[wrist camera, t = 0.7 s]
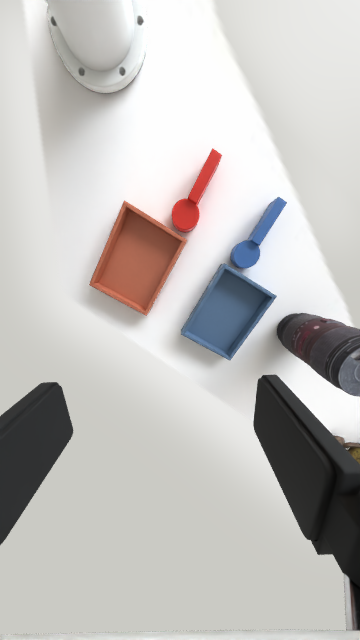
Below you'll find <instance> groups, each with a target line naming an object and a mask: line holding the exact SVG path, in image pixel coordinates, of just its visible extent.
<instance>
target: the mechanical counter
mask: <svg viewBox="0 0 360 640" xmlns="http://www.w3.org/2000/svg"><path fill="white" fill-rule="evenodd" d="M334 437H335V438H336V439H337V440H338V441H339V442H340V443H341V445H342V446H343V447H344V448H348V447H350V449H349V450H348V452H349V453H350V454H351V455H352V456H353V457H354V458H355V460H356V461H357V462H358V463H359V464H360V444H359V443H344V439H343V438H342V437H339V436H334Z"/></svg>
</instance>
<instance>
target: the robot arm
mask: <svg viewBox="0 0 360 640" xmlns="http://www.w3.org/2000/svg"><path fill="white" fill-rule="evenodd" d="M45 1H46V3H47V5H48V6H47V13H48V22H49V28H50V32H51V36H52V39H53V42H54V44H55V47H56V50H57V52H58V54H59V55H60V57H61V59H62V61H63V63H64V64H65V66H66V67H67V69H68V70H69V72H70V73H71V74H72V76H73V77H74V78H75V79H76V80H77V81H78V82H80V83H81V84H82V85H83V86H85V87H86V88H88V89H90V90H92V91H96V92H100V93H112V92H116V91H119V90H121V89H122V88H124V87H126V86H127V85H128V84H129V83H130V82H131V81H132V80H133V79H134V78H135V76H136V75H137V73H138V72H139V70H140V67H141V65H142V63H143V60H144V56H145V53H146V46H147V21H146V13H145V7H144V3H143V0H45ZM254 430H255V433H256V435H257V437H258V439H259V441H260V443H261V446H262V448H263V450H264V452H265V454H266V456H267V458H268V461H269V463H270V465H271V467H272V469H273V471H274V473H275V476H276V477H277V480H278V482H279V484H280V486H281V488H282V490H283V493H284V495H285V497H286V499H287V501H288V503H289V505H290V507H291V509H292V512H293V514H294V516H295V518H296V520H297V522H298V525H299V527H300V529H301V531H302V533H303V534H304V536H305V537H306V538H307V539H308V540H311V541H312V544H313V546H314V548H315V550H316V552H317V554H318V555H320V554H321V555H324V554H333V555H334V557H335V559H336V561H337V563H338V565H339V567H340V568H341V570H342V572H343V573H344V592H345V615H346V631H343V630H342V631H341V630H220V631H154V632H153V631H152V632H105V633H61V634H59V633H58V634H13V635H0V640H360V464H359V463H358V462H357V461H356V460H355V458H354V457H353V456H352V455H351V454H350V453H349V452H348V451H347V450H346V449H345V448H344V447H343V446H342V445H341V443H340V442H339V441H338V440H337V439H336V438H335V437H334V436H333V435H332V434H331V433H330V432H329V431H328V430H327V428H326V427H325V426H324V425H323V424H322V423H321V422H320V421H319V420H318V419H317V418H316V417H315V416H314V415H313V413H312V412H311V411H310V410H309V409H308V408H307V407H306V406H305V405H304V404H303V403H302V402H301V401H300V400H299V398H298V397H297V396H296V395H295V394H294V393H293V392H292V391H291V390H290V389H289V388H288V387H287V386H286V385H285V383H284V382H283V381H282V380H281V379H280V378H279V377H278V376H277V375H263V376H262V377H261V378H259V379H258V384H257V394H256V404H255V413H254ZM72 434H73V427H72V423H71V420H70V416H69V412H68V409H67V405H66V401H65V398H64V394H63V390H62V387H61V386H59V384H58V383H56V382H47V383H41V384H39V385H38V386H37V387H36V388H35V389H33V390H32V391H31V392H30V393H28V394H27V395H26V396H25V397H23V398H22V399H21V400H20V401H18V402H17V403H16V404H15V405H13V406H12V407H11V408H10V409H9V410H7V411H6V412H5V413H4V414H2V415H1V416H0V545H1V543H3V541H4V540H5V539H6V537H7V536H8V534H9V533H10V531H11V529H12V528H13V526H14V525H15V523H16V522H17V520H18V519H19V517H20V516H21V514H22V512H23V511H24V510H25V508H26V506H27V505H28V503H29V502H30V500H31V499H32V497H33V496H34V494H35V493H36V491H37V490H38V488H39V486H40V485H41V483H42V482H43V480H44V479H45V477H46V476H47V474H48V473H49V471H50V470H51V468H52V466H53V465H54V463H55V462H56V460H57V459H58V457H59V456H60V454H61V453H62V451H63V449H64V448H65V447H66V445H67V443H68V442H69V440H70V439H71V437H72Z"/></svg>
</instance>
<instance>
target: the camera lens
mask: <svg viewBox="0 0 360 640" xmlns="http://www.w3.org/2000/svg"><path fill="white" fill-rule="evenodd" d="M277 336H278V338H279V340H280V341H281V343H282V344H283V346H285V347H286V348H287V349H288V350H289V351H290V352H291V353H292V354H294V355H295V356H297V357H298V358H300V359H301V360H303V361H304V362H305V363H307V364H308V365H309V366H311V368H312V369H314V370H315V371H316V372H317V373H318V374H319V375H321V376H322V377H323V378H325V379H326V380H327V381H329V382H330V383H331V384H333V385H334V386H335V387H337V388H340V389H342V390H343V391H345V392H346V393H348V394H350V395H353V396H360V329H357V328H353V327H350V326H346V325H345V324H343V323H341V322H338V321H335V320H331V319H325V318H322V317H319V316H316V315H310V314H306V313H300V314H291V315H288V316H286V317H285V318H283V319H282V320H281V322H280V323H279V325H278V328H277Z"/></svg>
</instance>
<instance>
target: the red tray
mask: <svg viewBox="0 0 360 640" xmlns="http://www.w3.org/2000/svg"><path fill="white" fill-rule="evenodd" d="M186 242H187V240H186V239H185V238H183V237H182V236H180V235H179V234H177V233H175V232H174V231H172V230H171V229H169V228H167V227H166V226H164V225H163V224H161V223H159V222H158V221H156V220H155V219H153V218H151V217H150V216H148V215H147V214H145V213H143V212H142V211H140V210H139V209H137V208H136V207H134V206H132V205H131V204H129V203H128V202H126V201H124V202H123V205H122V207H121V210H120V212H119V214H118V217H117V219H116V222H115V224H114V226H113V229H112V231H111V234H110V236H109V238H108V241H107V243H106V246H105V248H104V250H103V253H102V255H101V257H100V260H99V262H98V265H97V267H96V269H95V272H94V274H93V277H92V279H91V281H90V284H89V285H90V286H92V287H94V288H96V289H98V290H99V291H101V292H103V293H105V294H107V295H109V296H111V297H113V298H114V299H116V300H118V301H120V302H122V303H124V304H126V305H127V306H129V307H131V308H133V309H135V310H137V311H139V312H140V313H142V314H144V315H146V316H147V314H148V313H149V311H150V310H151V308H152V306H153V304H154V302H155V300H156V298H157V296H158V295H159V293H160V291H161V289H162V287H163V285H164V283H165V282H166V280H167V278H168V276H169V274H170V272H171V270H172V268H173V267H174V265H175V263H176V261H177V259H178V257H179V255H180V254H181V252H182V250H183V248H184V246H185V244H186Z"/></svg>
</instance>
